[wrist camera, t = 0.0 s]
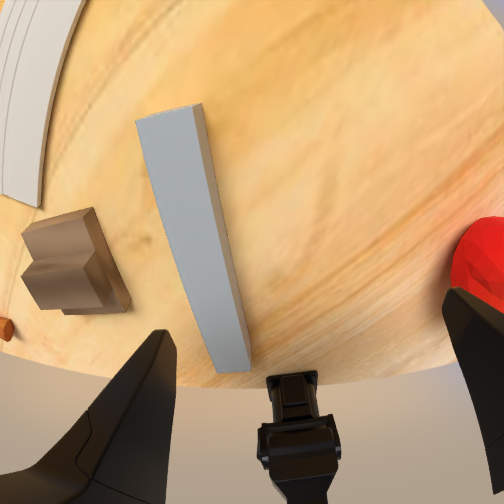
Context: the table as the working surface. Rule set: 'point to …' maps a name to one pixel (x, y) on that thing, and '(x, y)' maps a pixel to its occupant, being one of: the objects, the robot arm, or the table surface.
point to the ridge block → (73, 266)
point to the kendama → (6, 329)
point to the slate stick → (197, 229)
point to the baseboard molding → (30, 87)
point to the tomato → (481, 261)
